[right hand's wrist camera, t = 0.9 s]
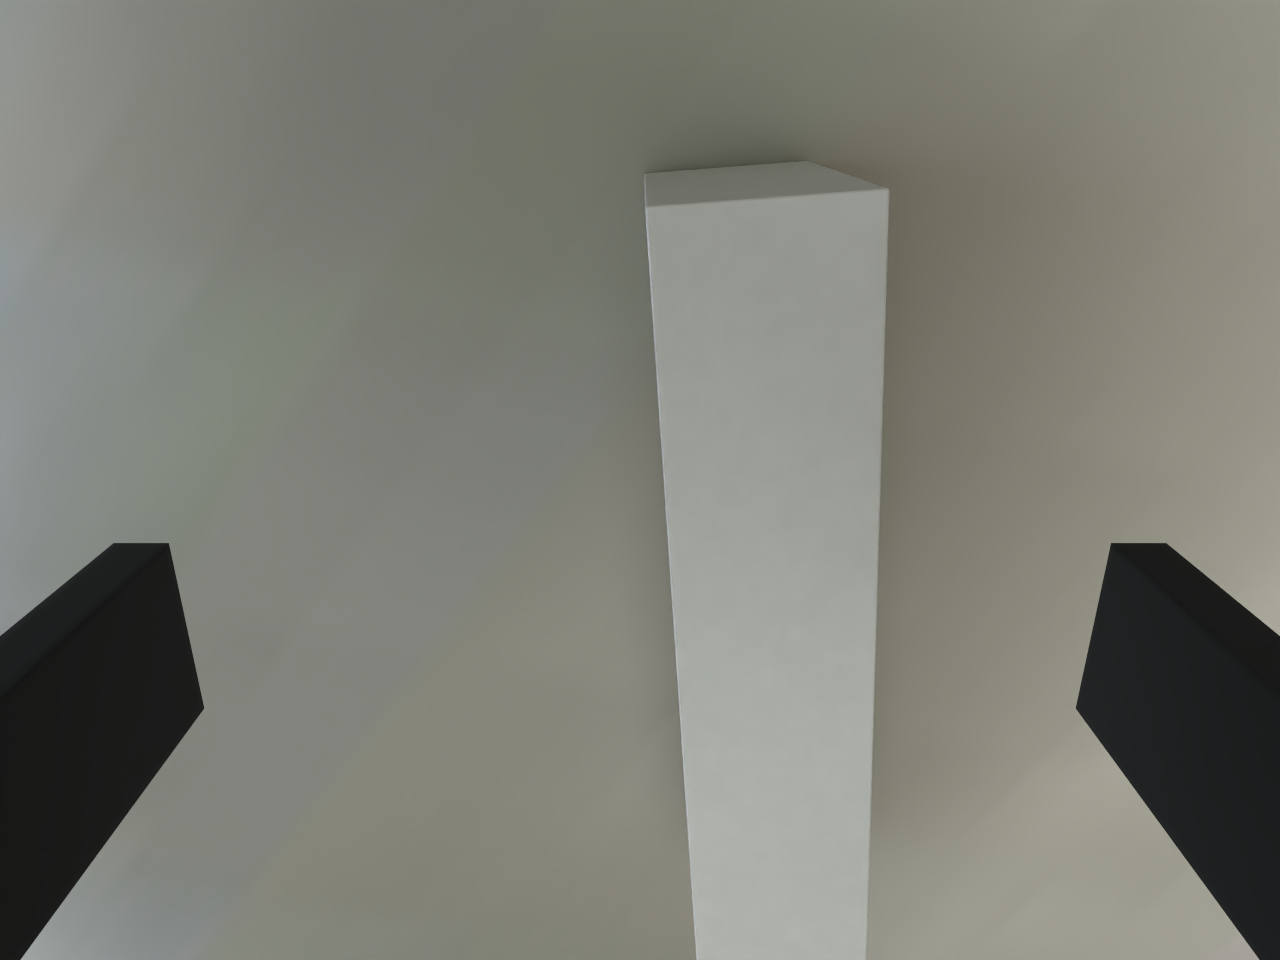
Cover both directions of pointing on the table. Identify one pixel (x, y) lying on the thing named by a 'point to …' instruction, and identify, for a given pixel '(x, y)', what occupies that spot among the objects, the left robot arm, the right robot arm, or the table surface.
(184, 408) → the table surface
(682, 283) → the bar
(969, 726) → the table surface
